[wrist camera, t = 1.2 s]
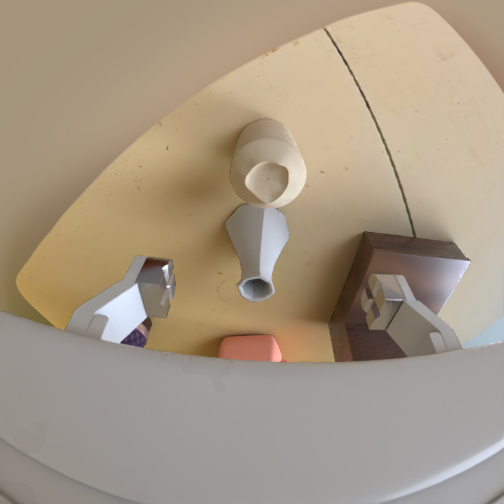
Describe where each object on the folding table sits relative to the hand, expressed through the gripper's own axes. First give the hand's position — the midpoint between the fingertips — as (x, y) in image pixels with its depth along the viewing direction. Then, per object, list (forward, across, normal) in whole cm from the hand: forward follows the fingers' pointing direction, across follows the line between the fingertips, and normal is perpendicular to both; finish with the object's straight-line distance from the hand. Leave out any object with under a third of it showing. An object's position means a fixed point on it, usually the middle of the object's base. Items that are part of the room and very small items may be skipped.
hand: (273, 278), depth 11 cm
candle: (+19, 0, 0) cm, 19 cm away
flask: (+20, 0, +10) cm, 22 cm away
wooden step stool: (+19, -21, +18) cm, 34 cm away
